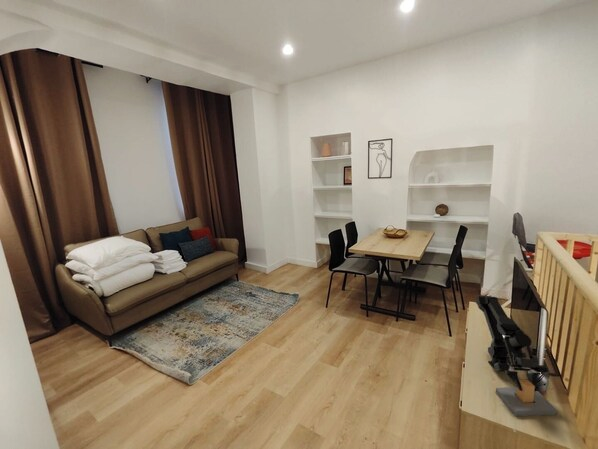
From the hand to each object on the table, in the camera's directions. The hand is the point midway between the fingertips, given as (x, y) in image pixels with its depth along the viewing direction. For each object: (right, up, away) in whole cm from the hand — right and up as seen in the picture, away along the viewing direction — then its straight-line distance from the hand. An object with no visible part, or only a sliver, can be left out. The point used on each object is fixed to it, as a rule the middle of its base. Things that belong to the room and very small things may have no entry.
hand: (527, 391), depth 115 cm
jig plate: (+1, -7, +3) cm, 7 cm away
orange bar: (+1, -7, +3) cm, 7 cm away
